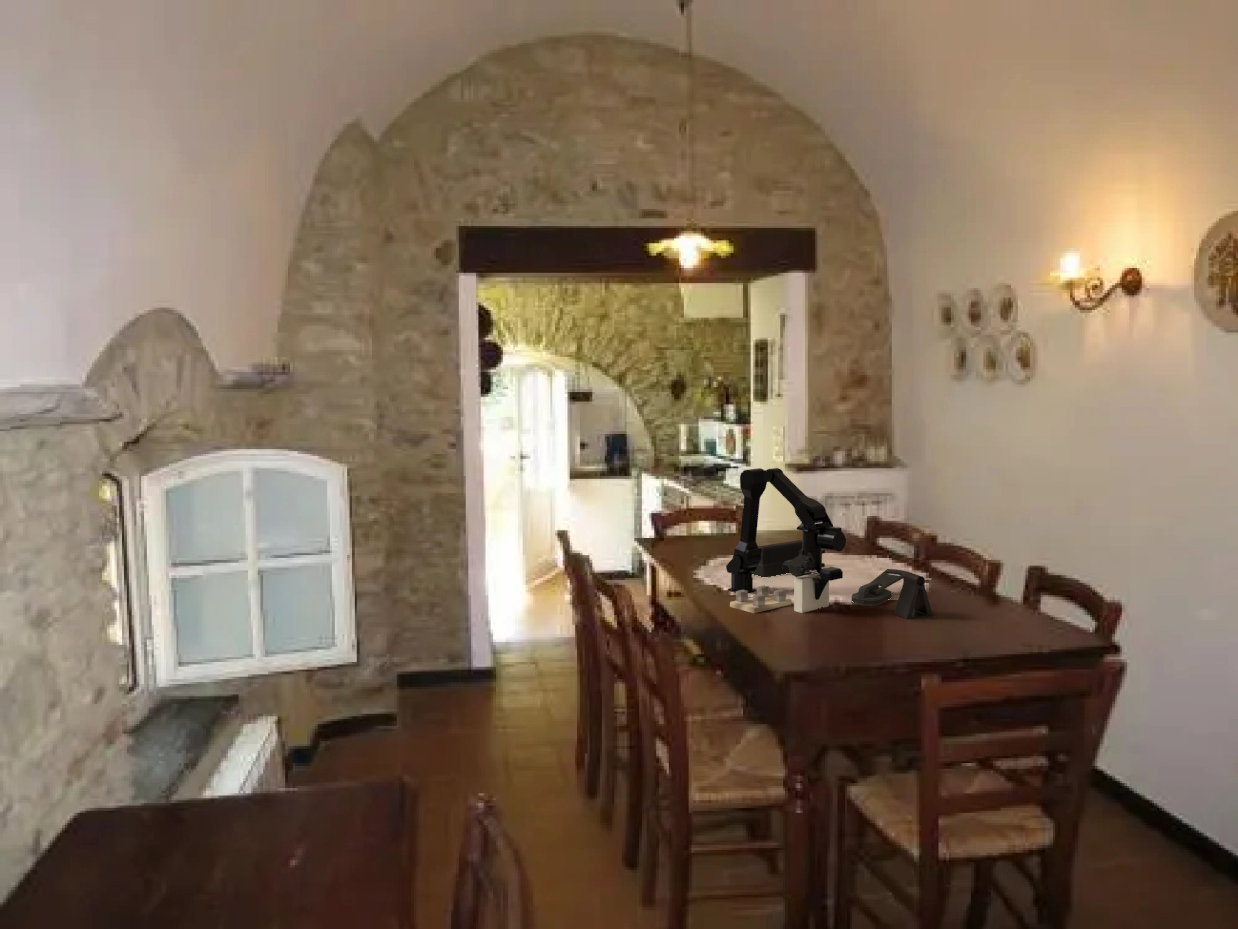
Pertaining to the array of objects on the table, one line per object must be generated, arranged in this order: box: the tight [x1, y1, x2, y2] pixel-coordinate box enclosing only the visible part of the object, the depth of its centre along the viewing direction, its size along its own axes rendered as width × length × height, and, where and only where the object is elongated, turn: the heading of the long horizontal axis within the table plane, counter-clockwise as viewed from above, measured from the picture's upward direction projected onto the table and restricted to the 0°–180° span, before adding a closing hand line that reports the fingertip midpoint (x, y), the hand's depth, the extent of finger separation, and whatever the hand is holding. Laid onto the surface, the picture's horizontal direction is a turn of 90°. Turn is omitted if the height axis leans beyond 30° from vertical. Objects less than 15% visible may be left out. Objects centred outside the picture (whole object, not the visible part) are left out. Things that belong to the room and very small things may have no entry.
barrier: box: [751, 539, 802, 578], centre depth 339 cm, size 24×9×10 cm, turn 123°
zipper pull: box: [851, 568, 910, 607], centre depth 302 cm, size 9×7×25 cm
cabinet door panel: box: [793, 573, 830, 614], centre depth 289 cm, size 3×12×10 cm, turn 128°
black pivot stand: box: [893, 571, 934, 620], centre depth 280 cm, size 9×6×12 cm, turn 109°
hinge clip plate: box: [729, 584, 792, 614], centre depth 293 cm, size 10×16×4 cm, turn 128°
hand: (811, 598), depth 289 cm, fingers open, 4 cm apart
